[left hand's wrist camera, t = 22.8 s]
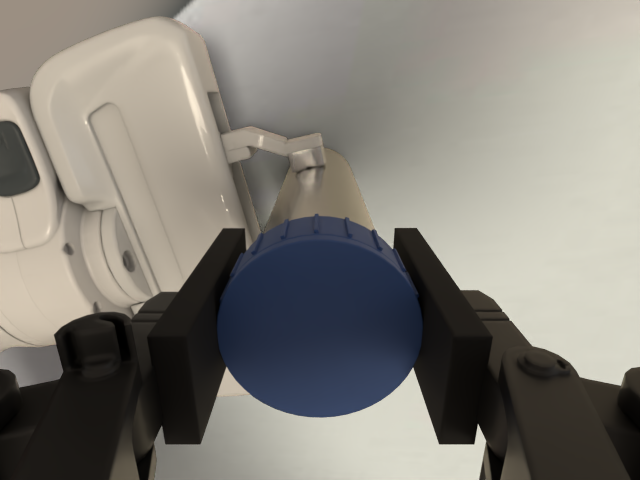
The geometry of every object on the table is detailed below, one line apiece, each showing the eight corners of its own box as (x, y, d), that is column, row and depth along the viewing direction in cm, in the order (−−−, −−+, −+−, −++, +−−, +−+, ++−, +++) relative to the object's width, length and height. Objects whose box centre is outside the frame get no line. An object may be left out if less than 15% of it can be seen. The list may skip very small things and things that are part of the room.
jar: (366, 184, 28) (436, 326, 11) (316, 225, 29) (311, 412, 12) (323, 133, 27) (329, 204, 10) (273, 177, 28) (201, 310, 11)
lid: (323, 400, 13) (324, 450, 11) (193, 302, 12) (170, 340, 10) (447, 295, 12) (469, 332, 10) (315, 173, 11) (314, 190, 9)
